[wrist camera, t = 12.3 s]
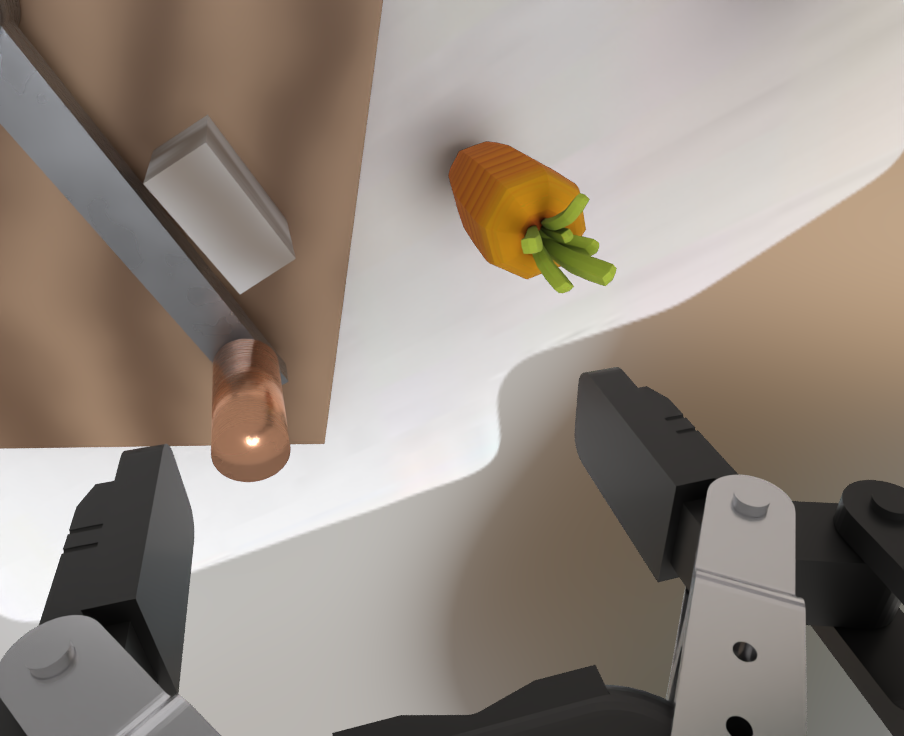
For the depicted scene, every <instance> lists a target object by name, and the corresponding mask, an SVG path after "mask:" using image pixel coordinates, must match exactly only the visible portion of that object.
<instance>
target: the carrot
mask: <svg viewBox="0 0 904 736" xmlns="http://www.w3.org/2000/svg"><path fill="white" fill-rule="evenodd" d="M448 176H449V180H450V184H451V187H452V191H453V194H454V198H455V202H456V205H457V209H458V212H459V215H460V218H461V221H462V224H463V227H464V229H465V230H466V232H467V233H468V235H469V236H470V238H471V240H472V241H473V243H474V244H475V246H476V247H477V248H478V250H479V251H480V253H481V254H482V255H483V257H484V258H485V259H486V261H488V262H489V263H490V264H493V265H495V266H497V267H499V268H502V269H504V270H506V271H509V272H511V273H513V274H516V275H518V276H520V277H522V278H525V279H529V278H532V277H534V276H537V275H539V274H543V276H544V277H545V279H546V280H547V281H548V282H549V284H550V285H551V286H552V287H553V288H554V289H555V290H556V291H557V292H558V293H565V292H568V291H570V290H571V289H572V288H573V287H574V286H573V285H572V283H571V282H570V281H569V280H568V278H567V277H566V276H565V275H564V274H563V272H562V271H561V270H560V269H559V268H558V267H560V266H562V267H563V268H564V269H566V270H567V271H569V272H570V273H572V274H574V275H577V276H579V277H581V278H584V279H586V280H588V281H591V282H594V283H597V284H600V285H603V286H606V285H607V284H608V283H610V282H611V281H612V280H613V278H614V275H615V273H616V267H615V266H614V265H613V264H611V263H608V262H605V261H603V260H600V259H597V258H594V257H591V256H592V255H594V254H595V253H597V251H598V248H599V243H598V242H597V241H596V240H594V239H591V238H587V237H582V235H583V233H584V232H585V230H586V227H585V221H584V215H583V210H584V208H585V206H586V204H587V203H588V201H589V198H588V197H587V196H586V195H584V194H581V193H580V191H579V188H578V186H577V185H576V184H575V183H573V182H572V181H570V180H568V179H567V178H565V177H564V176H562V175H561V174H559V173H558V172H556V171H554V170H552V169H551V168H549V167H547V166H545V165H543V164H542V163H540V162H538V161H536V160H534V159H532V158H531V157H529V156H527V155H525V154H523V153H521V152H520V151H518V150H516V149H514V148H512V147H511V146H509V145H505V144H500V143H495V142H483V143H480V144H477V145H474V146H472V147H469V148H466V149H464V150H461V151H459V152H458V154H457V156H456V158H455V160H454V162H453V164H452V166H451V168H450V171H449V175H448Z"/></svg>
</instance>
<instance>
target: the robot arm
mask: <svg viewBox="0 0 904 736" xmlns="http://www.w3.org/2000/svg"><path fill="white" fill-rule="evenodd" d="M575 443H576V448H577V452H578V455H579V458H580V460H581V462H582V464H583V465H584V467H585V468H586V470H587V472H588V473H589V475H590V476H591V478H592V480H593V481H594V482H595V484H596V485H597V487H598V489H599V490H600V492H601V494H602V495H603V497H604V498H605V500H606V502H607V503H608V505H609V506H610V508H611V509H612V511H613V513H614V514H615V516H616V517H617V519H618V520H619V522H620V523H621V525H622V527H623V528H624V530H625V531H626V533H627V535H628V536H629V538H630V539H631V541H632V542H633V544H634V545H635V547H636V549H637V550H638V552H639V553H640V555H641V557H642V558H643V560H644V561H645V563H646V564H647V566H648V568H649V569H650V571H651V572H652V574H653V575H654V577H655V579H656V580H657V582H661V581H665V580H669V579H674V578H678V577H680V579H681V580H682V582H683V583H684V584H685V586H686V589H685V593H684V597H683V603H682V609H681V615H680V621H679V626H678V632H677V638H676V645H675V651H674V656H673V662H672V668H671V674H670V679H669V685H668V690H667V695H666V699H664V698H662V697H660V696H657V695H654V694H651V693H649V692H646V691H643V690H638V689H634V688H630V687H623V686H615V685H605V684H604V682H603V680H602V678H601V676H600V674H599V672H598V669H597V667H596V666H595V665H593V666H589V667H585V668H581V669H577V670H574V671H570V672H566V673H562V674H558V675H554V676H550V677H547V678H543V679H539V680H535V681H533V682H531V683H529V684H528V685H526V686H524V687H522V688H521V689H519V690H517V691H515V692H514V693H512V694H510V695H508V696H506V697H505V698H503V699H501V700H499V701H498V702H496V703H494V704H492V705H491V706H489V707H487V708H485V709H484V710H482V711H480V712H478V713H476V714H472V715H401V716H396V717H393V718H389V719H385V720H381V721H377V722H374V723H369V724H366V725H362V726H358V727H354V728H351V729H346V730H342V731H339V732H335V733H332V734H333V736H807V701H806V700H807V696H806V625H811V626H812V627H813V629H814V630H815V632H816V633H817V634H818V636H819V637H820V638H821V640H822V641H823V642H824V644H825V645H826V646H827V648H828V649H829V651H830V652H831V653H832V655H833V656H834V657H835V659H836V660H837V661H838V663H839V664H840V665H841V667H842V668H843V669H844V671H845V672H846V673H847V675H848V676H849V677H850V679H851V680H852V681H853V683H854V684H855V685H856V687H857V688H858V689H859V691H860V692H861V694H862V695H863V696H864V698H865V699H866V700H867V702H868V703H869V704H870V705H871V707H872V708H873V710H874V711H875V712H876V714H877V715H878V716H879V718H880V719H881V720H882V722H883V723H884V724H885V726H886V727H887V728H888V730H889V731H890V733H891V734H892V735H893V736H904V613H903V612H902V611H901V610H900V608H899V606H900V604H901V603H903V605H904V488H903V487H900V486H897V485H895V484H891V483H888V482H883V481H876V480H863V481H857V482H854V483H852V484H849V485H848V486H847V487H846V488H845V489H844V491H843V493H842V496H841V499H840V501H839V503H818V502H817V503H816V502H798V501H791V499H790V498H789V497H788V496H787V494H786V493H785V492H783V491H782V490H781V489H780V488H778V487H777V486H775V485H774V484H772V483H769V482H768V481H765V480H763V479H760V478H756V477H753V476H747V475H738V474H737V473H736V471H735V470H734V469H733V468H732V467H731V466H730V465H729V464H728V463H727V462H726V461H725V460H724V458H722V456H721V455H720V454H719V453H718V452H717V451H716V450H715V449H714V448H713V446H712V445H711V444H710V443H709V442H708V441H707V440H706V439H705V438H704V437H703V436H702V435H701V433H700V432H699V431H696V430H695V427H694V426H693V425H692V424H691V422H690V421H689V420H688V419H687V418H684V417H683V414H682V413H681V412H680V410H678V408H677V407H676V406H675V405H674V404H673V403H672V402H671V401H670V400H669V399H668V398H667V397H665V396H663V395H661V394H659V393H658V392H656V391H654V390H652V389H650V388H649V387H647V386H646V387H640V388H638V387H637V386H636V385H635V384H634V383H633V382H632V381H631V379H630V378H629V377H628V376H627V375H626V374H625V373H624V372H623V370H622V369H620V368H619V367H614V368H609V369H603V370H597V371H591V372H585V373H582V374H581V376H580V378H579V384H578V396H577V409H576V422H575ZM69 531H70V534H68V535H67V539H66V542H65V545H64V548H63V550H64V554H61V557H60V561H59V564H58V567H57V570H56V573H55V576H54V579H53V583H52V586H51V589H50V592H49V595H48V598H47V601H46V605H45V608H44V611H43V614H42V617H41V620H40V623H39V626H37V627H36V628H34V629H32V630H31V631H29V632H28V633H26V634H25V635H24V636H23V637H21V638H20V639H19V640H18V641H17V642H16V643H15V644H13V646H12V647H11V648H10V649H9V650H8V651H7V652H6V654H5V655H4V657H3V658H2V660H1V662H0V736H221V735H220V734H219V733H218V732H217V731H216V730H215V729H214V728H213V727H212V726H211V725H210V724H209V723H208V722H207V721H206V720H205V719H204V717H203V716H202V715H201V714H200V713H198V711H197V710H196V709H195V708H194V707H193V706H192V705H191V704H190V703H189V702H188V701H187V700H186V699H184V698H183V697H182V696H181V695H179V694H178V692H179V681H180V672H181V662H182V653H183V643H184V633H185V622H186V613H187V604H188V594H189V584H190V574H191V565H192V555H193V545H194V522H193V515H192V510H191V506H190V503H189V500H188V497H187V494H186V491H185V488H184V485H183V482H182V479H181V476H180V473H179V470H178V467H177V464H176V461H175V458H174V455H173V452H172V450H171V448H170V446H169V445H168V444H162V445H156V446H150V447H145V448H139V449H133V450H127V451H124V452H123V453H122V455H121V458H120V462H119V465H118V469H117V473H116V477H115V481H111V482H106V483H100V484H95V486H94V487H93V488H92V489H91V490H90V492H89V493H88V494H87V495H86V496H85V497H84V499H83V500H82V501H81V502H80V503H79V505H78V506H77V507H76V510H75V513H74V517H73V520H72V523H71V526H70V529H69Z"/></svg>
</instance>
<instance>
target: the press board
mask: <svg viewBox="0 0 904 736" xmlns="http://www.w3.org/2000/svg"><path fill="white" fill-rule="evenodd" d="M19 4H20V22H19V25H18V27H19V28H20V30H21V31H22V32H23V34H24V35H25V36H26V37H27V39H28V40H29V41H30V42H31V44H32V45H33V46H34V47H35V49H36V50H37V51H38V52H39V54H40V55H41V56H42V57H43V59H44V60H45V61H46V62H47V64H48V65H49V66H50V68H51V69H52V70H53V71H54V73H55V74H56V75H57V76H58V78H59V79H60V80H61V81H62V83H63V84H64V85H65V86H66V88H67V89H68V90H69V91H70V93H71V94H72V95H73V96H74V98H75V99H76V100H77V101H78V103H79V104H80V105H81V107H82V108H83V109H84V110H85V112H86V113H87V114H88V115H89V117H90V118H91V119H92V120H93V122H94V123H95V124H96V125H97V127H98V128H99V129H100V130H101V132H102V133H103V134H104V135H105V137H106V138H107V139H108V141H109V142H110V143H111V144H112V146H113V147H114V148H115V149H116V151H117V152H118V153H119V154H120V156H121V157H122V158H123V159H124V161H125V162H126V163H127V164H128V166H129V167H130V168H131V169H132V171H133V172H134V173H135V175H136V176H137V177H138V178H139V180H140V181H141V182H142V183H143V185H144V186H145V187H146V188H147V190H148V191H149V192H150V193H151V195H152V196H153V197H154V198H155V200H156V201H157V202H158V203H159V205H160V206H161V207H162V208H163V210H164V211H165V212H166V214H167V215H168V216H169V217H170V219H171V220H172V221H173V222H174V224H175V225H176V226H177V227H178V229H179V230H180V231H181V232H182V234H183V235H184V236H185V237H186V239H187V240H188V241H189V242H190V244H191V245H192V246H193V248H194V249H195V250H196V251H197V253H198V254H199V255H200V256H201V258H202V259H203V260H204V261H205V263H206V264H207V265H208V266H209V268H210V269H211V270H212V271H213V273H214V274H215V275H216V276H217V278H218V279H219V280H220V281H221V283H222V284H223V285H224V287H225V288H226V289H227V290H228V292H229V293H230V294H231V295H232V297H233V298H234V299H235V300H236V302H237V303H238V304H239V305H240V307H241V308H242V309H243V310H244V312H245V313H246V314H247V315H248V317H249V318H250V319H251V321H252V322H253V323H254V324H255V326H256V327H257V328H258V329H259V331H260V332H261V333H262V334H263V336H264V337H265V338H266V339H267V341H268V342H269V343H270V344H271V346H272V347H273V348H274V349H275V351H276V352H277V353H278V354H279V356H280V357H281V358H282V360H283V361H284V362H285V363H286V368H287V375H288V381H289V382H287V383H285V384H283V385H282V391H283V398H284V406H285V413H286V420H287V427H288V435H289V442H290V444H324V443H325V435H326V428H327V420H328V413H329V405H330V398H331V390H332V382H333V375H334V367H335V360H336V352H337V345H338V337H339V329H340V322H341V314H342V307H343V299H344V292H345V284H346V277H347V269H348V261H349V254H350V246H351V239H352V231H353V224H354V216H355V208H356V201H357V193H358V186H359V178H360V171H361V163H362V155H363V148H364V140H365V133H366V125H367V118H368V110H369V102H370V95H371V87H372V80H373V72H374V65H375V57H376V49H377V42H378V34H379V27H380V19H381V12H382V4H383V0H19ZM212 372H213V363H212V362H211V361H210V360H209V359H208V357H207V356H206V355H205V354H204V353H203V352H202V351H201V350H200V348H199V347H198V346H197V345H196V344H195V343H194V342H193V340H192V339H191V338H190V337H189V336H188V335H187V334H186V333H185V331H184V330H183V329H182V328H181V327H180V326H179V325H178V324H177V322H176V321H175V320H174V319H173V318H172V317H171V316H170V315H169V313H168V312H167V311H166V310H165V309H164V308H163V307H162V306H161V304H160V303H159V302H158V301H157V300H156V299H155V298H154V296H153V295H152V294H151V293H150V292H149V291H148V290H147V289H146V287H145V286H144V285H143V284H142V283H141V282H140V281H139V280H138V278H137V277H136V276H135V275H134V274H133V273H132V272H131V271H130V269H129V268H128V267H127V266H126V265H125V264H124V263H123V262H122V260H121V259H120V258H119V257H118V256H117V255H116V254H115V252H114V251H113V250H112V249H111V248H110V247H109V246H108V245H107V243H106V242H105V241H104V240H103V239H102V238H101V237H100V236H99V234H98V233H97V232H96V231H95V230H94V229H93V228H92V227H91V225H90V224H89V223H88V222H87V221H86V220H85V219H84V218H83V216H82V215H81V214H80V213H79V212H78V211H77V210H76V208H75V207H74V206H73V205H72V204H71V203H70V202H69V201H68V199H67V198H66V197H65V196H64V195H63V194H62V193H61V192H60V190H59V189H58V188H57V187H56V186H55V185H54V184H53V183H52V181H51V180H50V179H49V178H48V177H47V176H46V175H45V174H44V172H43V171H42V170H41V169H40V168H39V167H38V166H37V164H36V163H35V162H34V161H33V160H32V159H31V158H30V157H29V155H28V154H27V153H26V152H25V151H24V150H23V149H22V148H21V146H20V145H19V144H18V143H17V142H16V141H15V140H14V139H13V137H12V136H11V135H10V134H9V133H8V132H7V131H6V130H5V128H4V127H3V126H2V125H1V124H0V448H68V447H136V446H156V445H162V444H168V445H169V446H205V445H211V436H212Z"/></svg>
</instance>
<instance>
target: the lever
mask: <svg viewBox="0 0 904 736" xmlns="http://www.w3.org/2000/svg"><path fill="white" fill-rule="evenodd" d="M19 22H20V4H19V0H0V124H1V125H2V126H3V127H4V128H5V130H6V131H7V132H8V133H9V134H10V135H11V136H12V137H13V139H14V140H15V141H16V142H17V143H18V144H19V145H20V146H21V148H22V149H23V150H24V151H25V152H26V153H27V154H28V155H29V157H30V158H31V159H32V160H33V161H34V162H35V163H36V164H37V166H38V167H39V168H40V169H41V170H42V171H43V172H44V174H45V175H46V176H47V177H48V178H49V179H50V180H51V181H52V183H53V184H54V185H55V186H56V187H57V188H58V189H59V190H60V192H61V193H62V194H63V195H64V196H65V197H66V198H67V199H68V201H69V202H70V203H71V204H72V205H73V206H74V207H75V208H76V210H77V211H78V212H79V213H80V214H81V215H82V216H83V218H84V219H85V220H86V221H87V222H88V223H89V224H90V225H91V227H92V228H93V229H94V230H95V231H96V232H97V233H98V234H99V236H100V237H101V238H102V239H103V240H104V241H105V242H106V243H107V245H108V246H109V247H110V248H111V249H112V250H113V251H114V252H115V254H116V255H117V256H118V257H119V258H120V259H121V260H122V262H123V263H124V264H125V265H126V266H127V267H128V268H129V269H130V271H131V272H132V273H133V274H134V275H135V276H136V277H137V278H138V280H139V281H140V282H141V283H142V284H143V285H144V286H145V287H146V289H147V290H148V291H149V292H150V293H151V294H152V295H153V296H154V298H155V299H156V300H157V301H158V302H159V303H160V304H161V306H162V307H163V308H164V309H165V310H166V311H167V312H168V313H169V315H170V316H171V317H172V318H173V319H174V320H175V321H176V322H177V324H178V325H179V326H180V327H181V328H182V329H183V330H184V331H185V333H186V334H187V335H188V336H189V337H190V338H191V339H192V340H193V342H194V343H195V344H196V345H197V346H198V347H199V348H200V350H201V351H202V352H203V353H204V354H205V355H206V356H207V357H208V359H209V360H210V361H211V362H212V363H213V372H212V436H211V458H212V462H213V464H214V466H215V467H216V469H217V470H218V471H219V472H220V473H221V474H223V475H224V476H226V477H228V478H230V479H233V480H236V481H241V482H255V481H260V480H264V479H267V478H269V477H271V476H273V475H275V474H276V473H278V472H279V471H280V470H281V469H282V468H283V467H284V466H285V464H286V463H287V461H288V459H289V456H290V442H289V435H288V427H287V420H286V413H285V406H284V398H283V391H282V385H283V384H285V383H287V382H289V381H288V375H287V368H286V363H285V362H284V361H283V360H282V358H281V357H280V356H279V354H278V353H277V352H276V351H275V349H274V348H273V347H272V346H271V344H270V343H269V342H268V341H267V339H266V338H265V337H264V336H263V334H262V333H261V332H260V331H259V329H258V328H257V327H256V326H255V324H254V323H253V322H252V321H251V319H250V318H249V317H248V315H247V314H246V313H245V312H244V310H243V309H242V308H241V307H240V305H239V304H238V303H237V302H236V300H235V299H234V298H233V297H232V295H231V294H230V293H229V292H228V290H227V289H226V288H225V287H224V285H223V284H222V283H221V281H220V280H219V279H218V278H217V276H216V275H215V274H214V273H213V271H212V270H211V269H210V268H209V266H208V265H207V264H206V263H205V261H204V260H203V259H202V258H201V256H200V255H199V254H198V253H197V251H196V250H195V249H194V248H193V246H192V245H191V244H190V242H189V241H188V240H187V239H186V237H185V236H184V235H183V234H182V232H181V231H180V230H179V229H178V227H177V226H176V225H175V224H174V222H173V221H172V220H171V219H170V217H169V216H168V215H167V214H166V212H165V211H164V210H163V208H162V207H161V206H160V205H159V203H158V202H157V201H156V200H155V198H154V197H153V196H152V195H151V193H150V192H149V191H148V190H147V188H146V187H145V186H144V185H143V183H142V182H141V181H140V180H139V178H138V177H137V176H136V175H135V173H134V172H133V171H132V169H131V168H130V167H129V166H128V164H127V163H126V162H125V161H124V159H123V158H122V157H121V156H120V154H119V153H118V152H117V151H116V149H115V148H114V147H113V146H112V144H111V143H110V142H109V141H108V139H107V138H106V137H105V135H104V134H103V133H102V132H101V130H100V129H99V128H98V127H97V125H96V124H95V123H94V122H93V120H92V119H91V118H90V117H89V115H88V114H87V113H86V112H85V110H84V109H83V108H82V107H81V105H80V104H79V103H78V101H77V100H76V99H75V98H74V96H73V95H72V94H71V93H70V91H69V90H68V89H67V88H66V86H65V85H64V84H63V83H62V81H61V80H60V79H59V78H58V76H57V75H56V74H55V73H54V71H53V70H52V69H51V68H50V66H49V65H48V64H47V62H46V61H45V60H44V59H43V57H42V56H41V55H40V54H39V52H38V51H37V50H36V49H35V47H34V46H33V45H32V44H31V42H30V41H29V40H28V39H27V37H26V36H25V35H24V34H23V32H22V31H21V30H20V28H19V27H18V25H19Z"/></svg>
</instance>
